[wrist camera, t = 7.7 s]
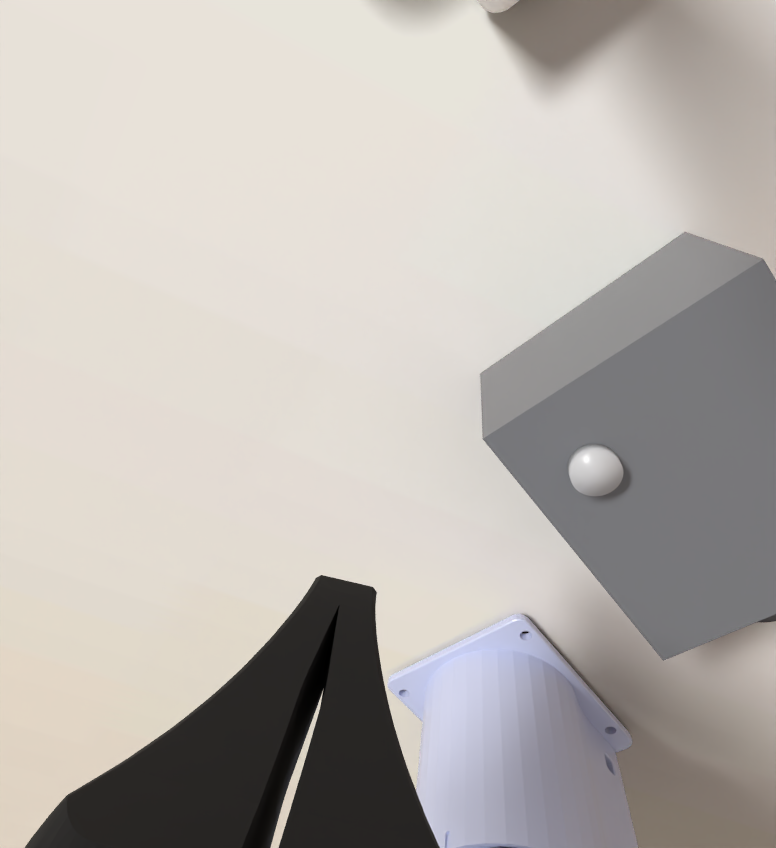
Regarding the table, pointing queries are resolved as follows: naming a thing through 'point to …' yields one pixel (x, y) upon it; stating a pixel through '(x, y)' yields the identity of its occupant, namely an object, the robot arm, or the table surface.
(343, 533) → the table surface
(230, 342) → the table surface
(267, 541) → the table surface
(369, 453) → the table surface
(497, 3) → the joystick
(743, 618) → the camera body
